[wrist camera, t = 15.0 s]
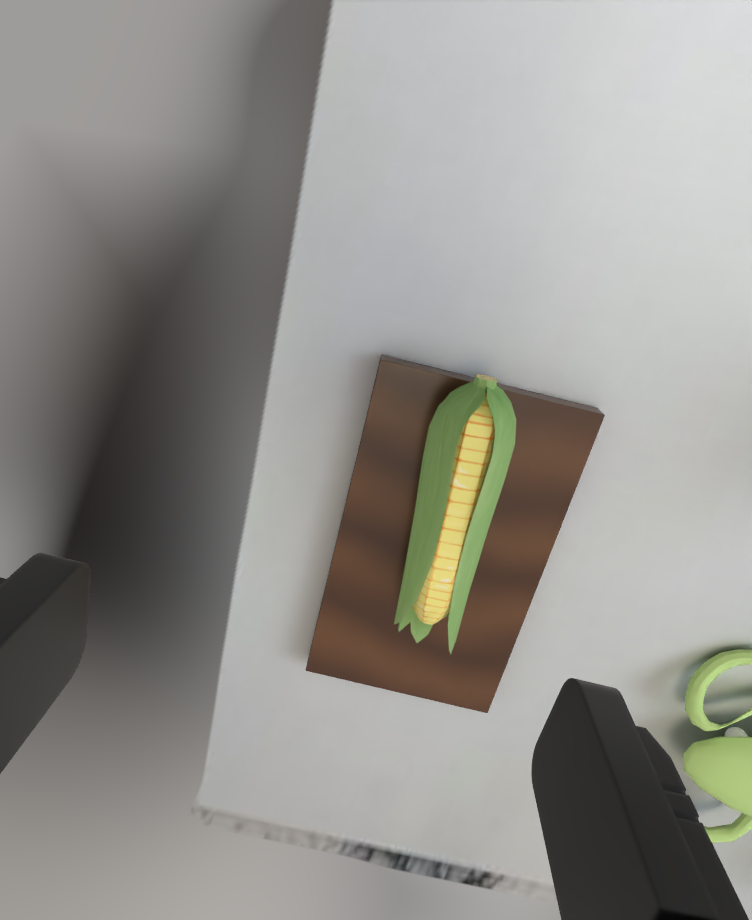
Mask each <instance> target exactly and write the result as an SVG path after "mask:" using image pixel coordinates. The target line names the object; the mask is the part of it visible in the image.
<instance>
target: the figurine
mask: <svg viewBox="0 0 752 920" xmlns="http://www.w3.org/2000/svg"><path fill="white" fill-rule="evenodd" d="M746 664H751V665H752V650H740V649H737V650H732V651H726V652H721V653H719V654H717V655H715V656H714V657H712V658H710V659H708V660H707V661H706V662H705V663H704V664H703V665H701V666H700V667H699V668H698V669H697V671H696V672H695V673H694V674H693V676H692V677H691V678H690V681H689V684H688V687H687V691H686V695H685V711H686V713H687V715H688V716H689V718H690V720H691V722H692V724H694V725H695V726H697V727H699V728H701V729H702V730H704V731H713V730H720V729H722V728H724V727H726V726H729V725H731V724H733V723H735V722H737V721H740V720H742V719H744V718H746V717H749V716H751V715H752V709H750V710H749V711H747V712H746V713H744V714H743V715H741V716H740V717H738V718H736V719H735V720H733V721H731V722H729V723H726V724H722V725H719V724H716V723H713V722H710V721H709V720H708V718H707V717H706V715H705V714H704V712H703V699H704V696H705V693H706V689H707V687H708V686H709V685H710V683H711V682H712V681H713V680H714V679H715V678H716V677H717V676H718V675H720V674H721V673H722V672H724V671H725V670H727V669H729V668H731V667H733V666H738V665H746ZM683 764H684V771H685V772H686V773H687V774H688V775H689V776H690V777H691V778H692V780H693V781H694V782H695V783H696V784H697V785H698V786H699V787H700V788H701V789H702V790H704V791H705V792H707V793H708V794H710V795H711V796H713V797H714V798H716V799H717V800H719V801H721V802H722V803H724V804H725V805H727V806H728V807H730V808H732V809H735V810H737V811H739V812H741V813H742V814H741V815H740V816H739V818H737V819H736V820H735V821H734V822H733V823H732V824H729V825H722V826H716V827H710V828H709V827H705V826H704V828H705V830H706V832H707V834H708V836H709V838H710V840H711V842H712V843H715V842H733V841H734V840H736V839H738V838H739V837H741V836H742V835H744V834H745V833H746V832H747V831H749V830H750V829H751V828H752V737H748V735H747V734H746V733H745V732H744V731H743V730H742V729H740V728H737V727H731V728H729V729H727V730H726V732H725V737H714V738H710V739H706V740H702V741H698V742H694V743H693V744H692V745H691V746H690V747H689V748H688V749H687V750H686V751H685V752H684V753H683Z"/></svg>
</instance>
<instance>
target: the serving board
mask: <svg viewBox="0 0 752 920" xmlns="http://www.w3.org/2000/svg"><path fill="white" fill-rule="evenodd" d="M473 381H474V377H470V376H466V375H462V374H458V373H454V372H450V371H446V370H441V369H437V368H433V367H429V366H425V365H421V364H417V363H413V362H409V361H405V360H401V359H397V358H393V357H389V356H385V355H382V356H381V359H380V363H379V367H378V371H377V376H376V380H375V384H374V388H373V392H372V396H371V400H370V405H369V409H368V413H367V417H366V421H365V425H364V430H363V434H362V438H361V442H360V446H359V450H358V454H357V459H356V463H355V467H354V471H353V475H352V479H351V484H350V488H349V492H348V496H347V500H346V504H345V508H344V513H343V517H342V521H341V525H340V529H339V533H338V538H337V542H336V546H335V550H334V554H333V558H332V562H331V567H330V571H329V575H328V579H327V583H326V587H325V592H324V596H323V600H322V604H321V608H320V612H319V617H318V621H317V625H316V629H315V633H314V637H313V641H312V646H311V650H310V654H309V658H308V662H307V666H306V671H310V672H314V673H318V674H323V675H327V676H331V677H335V678H340V679H344V680H348V681H353V682H357V683H361V684H365V685H370V686H374V687H378V688H382V689H387V690H391V691H395V692H400V693H404V694H408V695H412V696H417V697H421V698H425V699H429V700H434V701H438V702H442V703H447V704H451V705H455V706H459V707H464V708H468V709H472V710H476V711H481V712H485V713H488V710H489V708H490V705H491V703H492V700H493V698H494V695H495V693H496V690H497V687H498V685H499V682H500V680H501V677H502V675H503V672H504V670H505V667H506V665H507V662H508V659H509V657H510V654H511V652H512V649H513V647H514V644H515V642H516V639H517V637H518V634H519V632H520V629H521V626H522V624H523V621H524V619H525V616H526V614H527V611H528V609H529V606H530V604H531V601H532V599H533V596H534V593H535V591H536V588H537V586H538V583H539V581H540V578H541V576H542V573H543V571H544V568H545V566H546V563H547V560H548V558H549V555H550V553H551V550H552V548H553V545H554V543H555V540H556V538H557V535H558V532H559V530H560V527H561V525H562V522H563V520H564V517H565V515H566V512H567V510H568V507H569V505H570V502H571V499H572V497H573V494H574V492H575V489H576V487H577V484H578V482H579V479H580V477H581V474H582V472H583V469H584V466H585V464H586V461H587V459H588V456H589V454H590V451H591V449H592V446H593V444H594V441H595V438H596V436H597V433H598V431H599V428H600V426H601V423H602V421H603V418H604V416H605V415H604V414H603V413H602V412H601V411H600V410H599V409H598V408H595V407H591V406H587V405H583V404H578V403H574V402H570V401H566V400H562V399H558V398H554V397H550V396H546V395H542V394H538V393H534V392H530V391H526V390H522V389H518V388H514V387H510V386H506V385H502V384H498V383H496V385H499V387H500V389H502V390H503V391H504V392H505V394H506V395H507V397H508V398H509V399H510V401H511V403H512V407H513V410H514V413H515V417H516V436H515V446H514V449H513V453H512V456H511V460H510V463H509V467H508V470H507V474H506V477H505V481H504V484H503V487H502V490H501V493H500V496H499V499H498V502H497V505H496V508H495V511H494V514H493V517H492V520H491V523H490V526H489V529H488V532H487V535H486V539H485V542H484V545H483V548H482V552H481V555H480V558H479V561H478V565H477V568H476V571H475V574H474V578H473V581H472V584H471V587H470V591H469V594H468V598H467V602H466V605H465V609H464V613H463V616H462V620H461V624H460V628H459V631H458V635H457V639H456V642H455V644H454V647H453V650H452V653H451V654H450V651H449V640H448V620H449V619H448V617H447V616H446V617H445V618H443V619H442V620H440V621H439V622H437V623H435V624H433V626H432V628H431V630H430V632H429V634H428V635H427V636H426V637H424V638H423V639H422V640H421V641H419V642H418V643H416V641H415V639H414V637H413V635H412V633H411V622H410V623H409V624H407V625H406V626H405V627H404V628H403V629H402V630H401V631H399V630H398V627H399V623H397V624H395V625H394V621H395V616H396V611H397V606H398V600H399V595H400V590H401V585H402V579H403V574H404V569H405V564H406V558H407V552H408V546H409V541H410V535H411V529H412V524H413V518H414V512H415V506H416V500H417V493H418V486H419V480H420V473H421V466H422V459H423V454H424V449H425V444H426V439H427V434H428V429H429V425H430V423H431V421H432V419H433V416H434V414H435V412H436V410H437V408H438V406H439V404H441V403H442V402H443V401H444V400H445V399H446V397H447V396H448V395H449V393H450V392H452V391H453V390H455V389H456V388H458V387H460V386H462V385H465V384H467V383H470V382H473Z"/></svg>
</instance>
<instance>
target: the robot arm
mask: <svg viewBox="0 0 752 920" xmlns="http://www.w3.org/2000/svg"><path fill="white" fill-rule="evenodd" d="M90 579H91V571H90V567H89V566H88V564H86V563H82V562H78V561H74V560H69V559H65V558H60V557H56V556H52V555H48V554H43V553H38V554H36V555H34V556H33V557H31V558H30V559H29V560H28V561H27V562H26V563H24V564H23V565H22V566H21V567H20V568H19V569H18V570H17V571H16V572H14V573H13V574H12V575H11V576H10V577H9V578H7V579H4V578H0V773H1V772H2V771H3V769H4V768H5V767H6V765H7V764H8V763H9V761H10V760H11V759H12V757H13V756H14V755H15V753H16V752H17V751H18V749H19V748H20V746H21V745H22V744H23V743H24V741H25V740H26V738H27V737H28V736H29V734H30V733H31V732H32V730H33V729H34V728H35V726H36V725H37V724H38V722H39V721H40V720H41V718H42V717H43V716H44V714H45V713H46V712H47V710H48V709H49V708H50V706H51V705H52V703H53V702H54V701H55V699H56V698H57V697H58V695H59V694H60V692H61V691H62V690H63V689H64V687H65V686H66V685H67V683H68V682H69V681H70V679H71V678H72V676H73V675H74V673H75V671H76V669H77V667H78V665H79V663H80V660H81V658H82V654H83V651H84V648H85V644H86V637H87V623H88V608H89V594H90ZM532 784H533V789H534V794H535V798H536V803H537V808H538V812H539V817H540V822H541V826H542V831H543V836H544V840H545V845H546V850H547V854H548V859H549V864H550V868H551V873H552V878H553V882H554V887H555V892H556V896H557V901H558V906H559V910H560V915H561V920H749V919H748V917H747V915H746V913H745V911H744V909H743V907H742V905H741V902H740V900H739V898H738V896H737V894H736V892H735V890H734V888H733V886H732V884H731V882H730V880H729V878H728V875H727V873H726V871H725V869H724V867H723V865H722V863H721V861H720V859H719V857H718V855H717V853H716V851H715V849H714V846H713V844H712V842H711V840H710V838H709V836H708V834H707V832H706V830H705V828H704V826H703V824H702V823H699V821H698V817H699V815H698V813H697V811H696V809H695V807H694V805H693V803H692V801H691V799H690V797H689V796H688V795H686V793H685V791H686V788H685V786H684V784H683V782H682V780H681V778H680V776H679V774H678V772H677V770H676V768H675V765H674V763H673V761H672V759H671V757H670V756H669V755H668V754H667V753H666V752H665V750H664V749H663V748H662V747H661V746H660V745H659V743H658V742H657V741H656V740H655V739H654V738H653V736H652V735H651V734H650V733H649V732H648V730H647V729H646V728H642V727H638V726H635V724H634V721H633V719H632V717H631V715H630V712H629V710H628V708H627V706H626V703H625V701H624V699H623V697H622V695H621V693H620V692H619V691H618V690H617V689H616V688H612V687H608V686H604V685H599V684H595V683H591V682H587V681H582V680H578V679H574V678H570V679H568V680H567V681H566V682H565V683H564V685H563V687H562V688H561V691H560V693H559V695H558V697H557V699H556V701H555V704H554V706H553V708H552V710H551V712H550V715H549V717H548V719H547V721H546V723H545V725H544V728H543V730H542V732H541V734H540V736H539V739H538V741H537V743H536V746H535V749H534V753H533V759H532Z"/></svg>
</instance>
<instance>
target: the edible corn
mask: <svg viewBox="0 0 752 920" xmlns="http://www.w3.org/2000/svg"><path fill="white" fill-rule="evenodd" d="M496 383H497V379H495V378H494V377H490V376H486V375H478V374H477V375H475V378H474V381H473V382H470V383H467V384H465V385H462V386H460V387H458V388H456V389H455V390H453V391H452V392H450V393H449V395H448V396H447V397H446V399H445V400H444V401H443V402H442V403H441V404H439V406H438V408H437V410H436V412H435V414H434V416H433V419H432V421H431V423H430V425H429V429H428V434H427V439H426V444H425V449H424V454H423V459H422V466H421V473H420V480H419V486H418V493H417V500H416V506H415V512H414V518H413V524H412V529H411V535H410V541H409V546H408V552H407V558H406V564H405V569H404V574H403V579H402V585H401V590H400V595H399V600H398V606H397V611H396V616H395V621H394V625H395V624H397V623H399V627H398V630H399V631H401V630H402V629H403V628H404V627H405V626H406V625H407V624H409V623H410V622H411V633H412V635H413V637H414V639H415V641H416V643H418V642H419V641H421V640H422V639H423V638H424V637H426V636H427V635H428V634H429V632H430V630H431V628H432V626H433V624H435V623H437V622H439V621H440V620H442V619H443V618H445V617H446V616H447V617H448V619H449V620H448V640H449V651H450V654H451V653H452V650H453V647H454V644H455V642H456V639H457V635H458V631H459V628H460V624H461V620H462V616H463V613H464V609H465V605H466V602H467V598H468V594H469V591H470V587H471V584H472V581H473V578H474V574H475V571H476V568H477V565H478V561H479V558H480V555H481V552H482V548H483V545H484V542H485V539H486V535H487V532H488V529H489V526H490V523H491V520H492V517H493V514H494V511H495V508H496V505H497V502H498V499H499V496H500V493H501V490H502V487H503V484H504V481H505V477H506V474H507V470H508V467H509V463H510V460H511V456H512V453H513V449H514V446H515V436H516V417H515V413H514V410H513V407H512V403H511V401H510V399H509V398H508V397H507V395H506V394H505V392H504V391H503V390H502V389H500V387H499V385H496Z"/></svg>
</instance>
